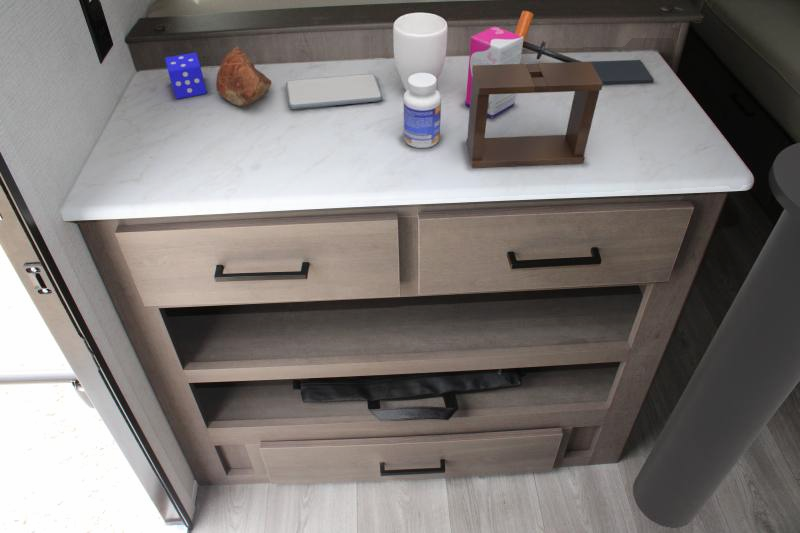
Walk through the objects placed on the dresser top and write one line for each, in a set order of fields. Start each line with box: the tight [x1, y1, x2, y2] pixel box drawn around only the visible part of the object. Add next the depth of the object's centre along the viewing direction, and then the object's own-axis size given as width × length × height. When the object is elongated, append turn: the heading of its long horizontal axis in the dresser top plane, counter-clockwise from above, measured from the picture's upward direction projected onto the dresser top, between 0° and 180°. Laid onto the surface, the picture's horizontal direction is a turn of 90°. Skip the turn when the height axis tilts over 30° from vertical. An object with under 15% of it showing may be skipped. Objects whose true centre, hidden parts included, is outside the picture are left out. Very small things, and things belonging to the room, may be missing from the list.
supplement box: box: [465, 25, 523, 119], centre depth 97 cm, size 6×6×12 cm
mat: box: [590, 59, 655, 85], centre depth 108 cm, size 16×7×1 cm, turn 93°
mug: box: [392, 12, 448, 92], centre depth 102 cm, size 12×8×11 cm
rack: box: [465, 61, 604, 169], centre depth 87 cm, size 16×6×12 cm, turn 93°
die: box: [164, 52, 208, 100], centre depth 103 cm, size 5×5×5 cm
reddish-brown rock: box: [215, 45, 272, 107], centre depth 101 cm, size 13×8×10 cm
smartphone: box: [285, 73, 383, 110], centre depth 103 cm, size 8×1×15 cm
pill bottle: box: [402, 73, 442, 149], centre depth 91 cm, size 5×5×10 cm
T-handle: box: [514, 10, 583, 62], centre depth 107 cm, size 10×3×14 cm
